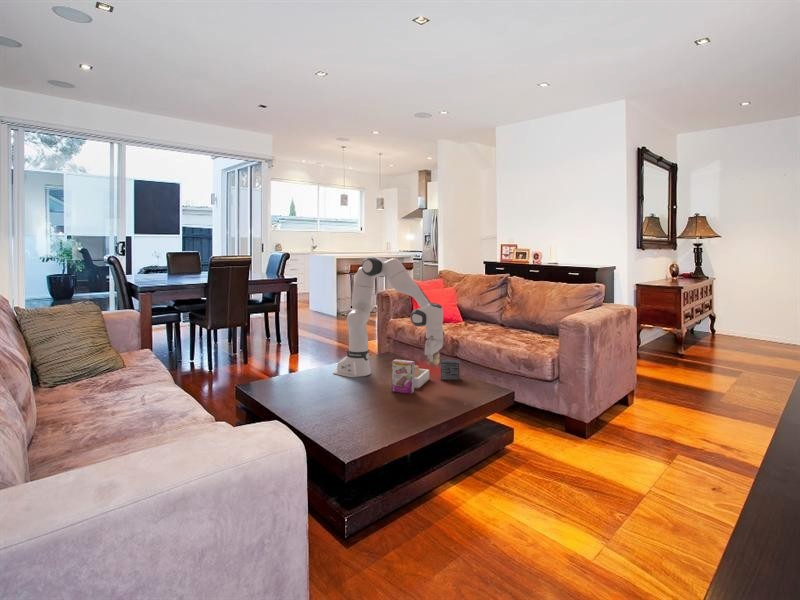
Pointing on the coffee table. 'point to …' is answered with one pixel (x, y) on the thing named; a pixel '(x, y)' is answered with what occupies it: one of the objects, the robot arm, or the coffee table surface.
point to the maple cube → (436, 359)
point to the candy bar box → (403, 376)
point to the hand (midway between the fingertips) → (433, 360)
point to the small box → (450, 370)
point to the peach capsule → (416, 371)
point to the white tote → (421, 378)
